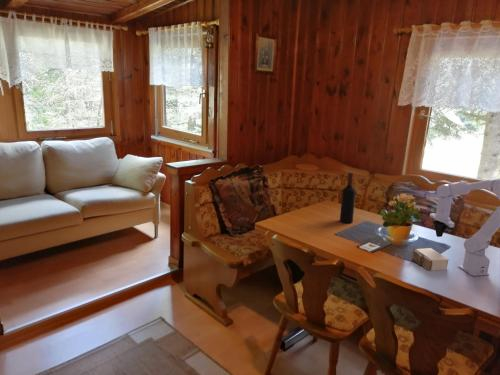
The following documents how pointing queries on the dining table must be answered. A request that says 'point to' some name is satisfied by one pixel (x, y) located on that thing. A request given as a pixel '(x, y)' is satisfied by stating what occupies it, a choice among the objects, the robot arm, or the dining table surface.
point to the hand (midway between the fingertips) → (439, 236)
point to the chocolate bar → (374, 245)
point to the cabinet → (433, 259)
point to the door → (417, 257)
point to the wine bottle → (348, 202)
